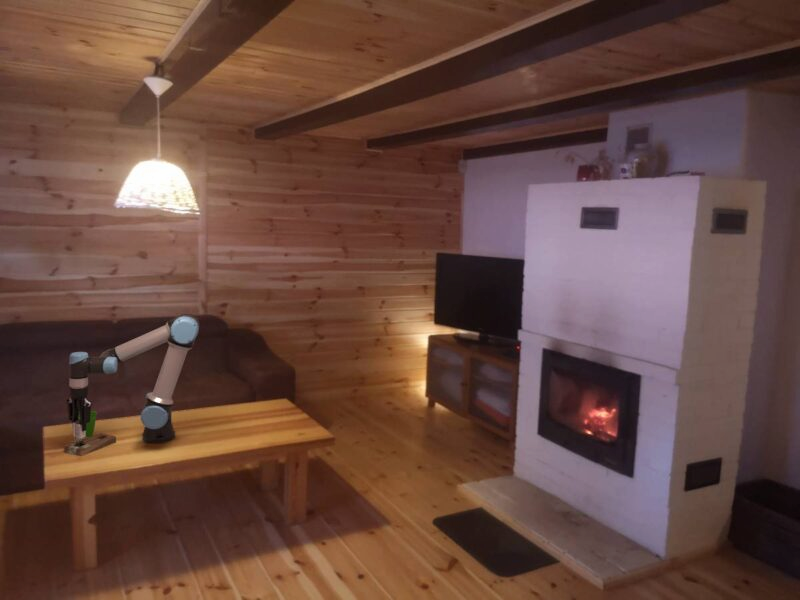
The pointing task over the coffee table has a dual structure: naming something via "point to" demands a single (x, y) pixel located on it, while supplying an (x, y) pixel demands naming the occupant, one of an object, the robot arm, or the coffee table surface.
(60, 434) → the coffee table surface
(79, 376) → the robot arm
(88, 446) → the mount board
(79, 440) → the lock pin
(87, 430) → the cup
